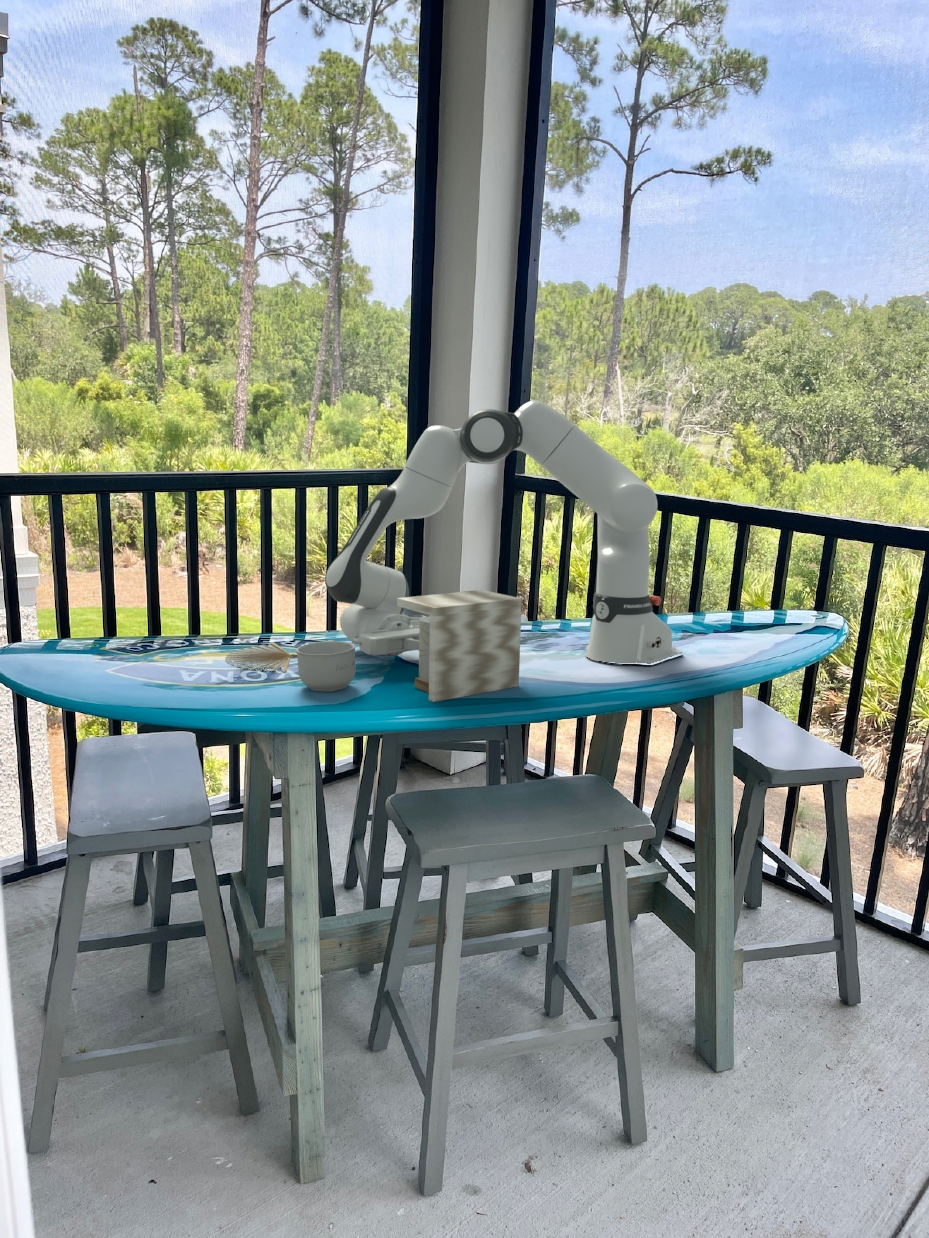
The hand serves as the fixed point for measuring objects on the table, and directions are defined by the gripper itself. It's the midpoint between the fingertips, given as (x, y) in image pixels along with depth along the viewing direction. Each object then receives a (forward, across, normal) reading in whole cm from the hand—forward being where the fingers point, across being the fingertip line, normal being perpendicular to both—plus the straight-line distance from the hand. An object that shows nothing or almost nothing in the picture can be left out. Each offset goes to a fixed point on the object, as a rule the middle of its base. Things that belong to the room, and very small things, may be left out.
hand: (428, 646), depth 176 cm
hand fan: (-31, -21, +6) cm, 38 cm away
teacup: (-4, -20, +6) cm, 21 cm away
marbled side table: (+10, 0, +6) cm, 12 cm away
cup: (+4, 0, +6) cm, 7 cm away
